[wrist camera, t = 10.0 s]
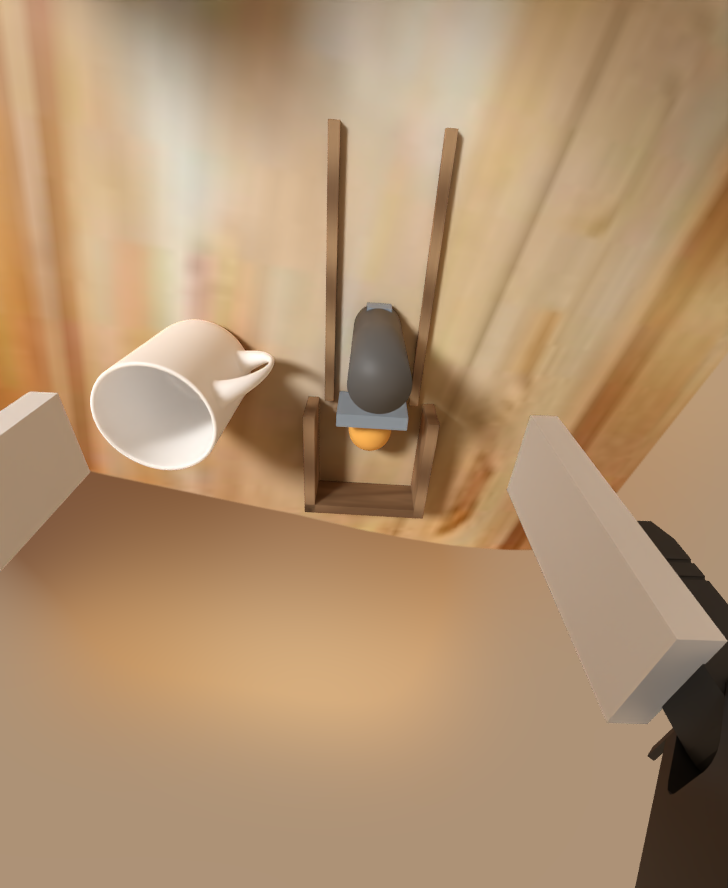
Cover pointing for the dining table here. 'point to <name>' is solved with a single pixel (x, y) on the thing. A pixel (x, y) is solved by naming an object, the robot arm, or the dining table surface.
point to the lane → (432, 264)
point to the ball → (369, 437)
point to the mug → (175, 394)
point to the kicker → (376, 373)
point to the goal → (368, 495)
